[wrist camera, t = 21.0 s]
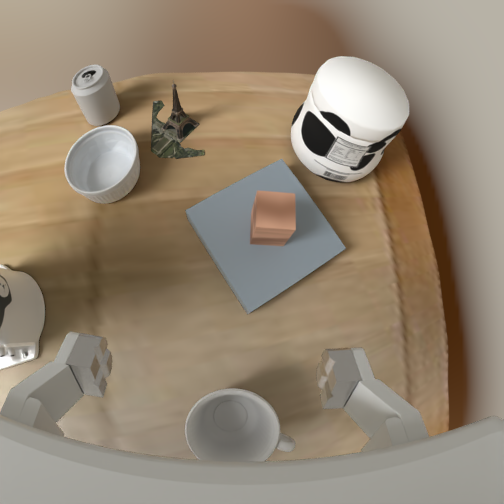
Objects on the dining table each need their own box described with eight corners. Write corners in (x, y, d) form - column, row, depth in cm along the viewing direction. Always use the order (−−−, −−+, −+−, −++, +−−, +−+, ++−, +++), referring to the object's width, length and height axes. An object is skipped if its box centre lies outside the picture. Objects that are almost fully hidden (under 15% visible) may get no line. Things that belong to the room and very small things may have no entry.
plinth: (247, 314, 48) (249, 312, 45) (187, 219, 51) (185, 210, 47) (337, 254, 52) (345, 248, 48) (277, 170, 55) (281, 158, 51)
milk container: (340, 106, 61) (371, 47, 43) (386, 172, 58) (434, 122, 40) (270, 127, 57) (288, 59, 40) (317, 202, 54) (357, 149, 37)
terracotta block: (283, 246, 47) (295, 229, 40) (250, 244, 47) (256, 227, 39) (283, 214, 49) (295, 193, 41) (251, 212, 48) (257, 190, 40)
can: (121, 97, 56) (108, 57, 45) (120, 123, 55) (104, 83, 43) (89, 105, 55) (71, 67, 44) (86, 132, 53) (65, 95, 42)
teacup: (269, 460, 43) (281, 486, 33) (181, 432, 43) (172, 455, 33) (296, 395, 46) (314, 410, 36) (206, 365, 46) (203, 374, 36)
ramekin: (66, 194, 50) (50, 177, 43) (103, 137, 54) (92, 116, 47) (121, 221, 50) (108, 205, 43) (159, 158, 53) (152, 137, 47)
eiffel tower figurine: (152, 102, 57) (142, 56, 44) (201, 96, 58) (200, 48, 45) (151, 163, 53) (135, 119, 41) (206, 157, 55) (205, 110, 42)
